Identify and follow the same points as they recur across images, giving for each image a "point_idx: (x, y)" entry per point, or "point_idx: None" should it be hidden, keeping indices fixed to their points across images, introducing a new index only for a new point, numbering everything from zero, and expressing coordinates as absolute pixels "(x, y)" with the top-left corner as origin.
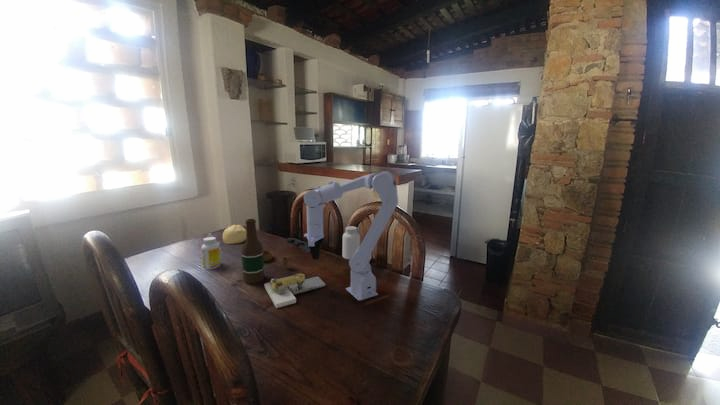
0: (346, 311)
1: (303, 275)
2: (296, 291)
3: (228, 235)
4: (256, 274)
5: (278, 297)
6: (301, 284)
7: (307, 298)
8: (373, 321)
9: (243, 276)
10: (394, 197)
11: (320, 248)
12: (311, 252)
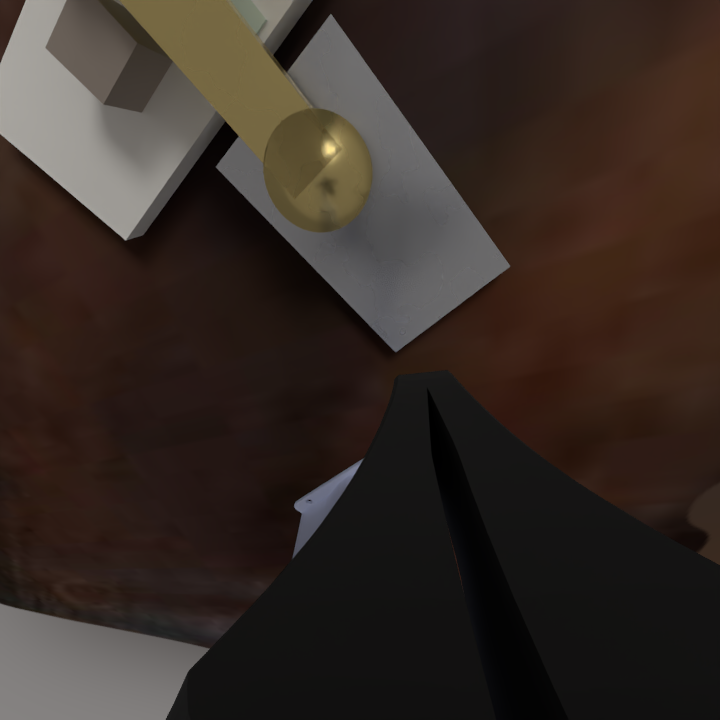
0: (196, 477)
1: (329, 219)
2: (236, 185)
3: None
4: None
5: (58, 77)
6: None
7: (219, 286)
8: (183, 547)
9: None
10: None
11: (468, 608)
12: (374, 448)
